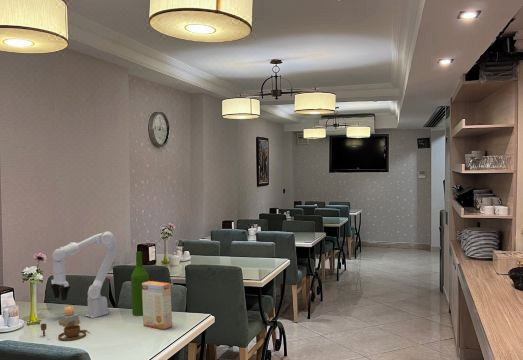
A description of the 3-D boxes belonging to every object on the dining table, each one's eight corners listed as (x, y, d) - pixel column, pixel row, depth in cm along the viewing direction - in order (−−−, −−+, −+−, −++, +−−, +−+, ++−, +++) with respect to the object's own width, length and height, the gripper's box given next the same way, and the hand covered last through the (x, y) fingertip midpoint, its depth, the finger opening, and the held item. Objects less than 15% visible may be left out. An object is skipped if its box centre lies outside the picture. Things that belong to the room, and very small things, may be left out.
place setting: (60, 346, 215) (59, 332, 215) (38, 337, 228) (37, 324, 228) (96, 335, 228) (95, 322, 228) (73, 327, 241) (73, 315, 241)
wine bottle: (144, 310, 265) (141, 249, 265) (153, 313, 259) (150, 251, 258) (129, 314, 259) (126, 252, 258) (138, 317, 253) (135, 253, 252)
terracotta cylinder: (71, 313, 248) (71, 305, 248) (75, 314, 245) (75, 306, 245) (63, 315, 245) (62, 307, 245) (67, 316, 242) (66, 308, 242)
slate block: (72, 317, 249) (72, 312, 249) (78, 319, 245) (78, 314, 245) (61, 320, 245) (60, 315, 245) (67, 322, 241) (66, 317, 241)
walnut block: (72, 322, 250) (72, 317, 250) (79, 324, 245) (79, 319, 245) (59, 325, 245) (59, 320, 245) (66, 328, 240) (66, 323, 240)
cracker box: (172, 326, 235) (171, 282, 234) (163, 330, 230) (161, 285, 229) (152, 322, 243) (150, 280, 242) (143, 325, 238) (141, 282, 237)
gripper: (45, 272, 256) (46, 298, 256) (58, 275, 246) (59, 302, 246) (58, 270, 261) (59, 295, 261) (71, 273, 251) (73, 299, 252)
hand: (60, 298), depth 254 cm, fingers open, 7 cm apart
